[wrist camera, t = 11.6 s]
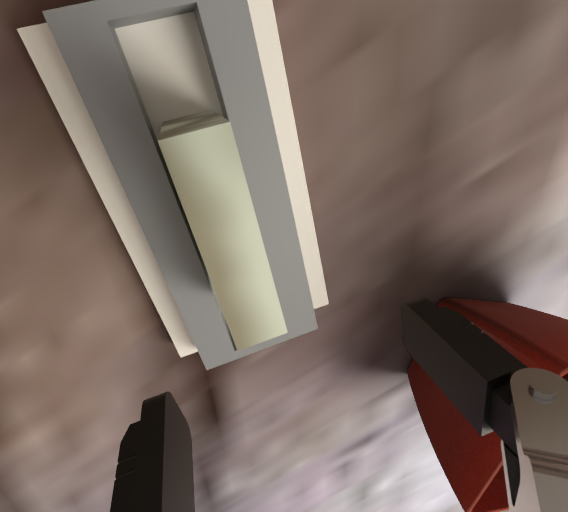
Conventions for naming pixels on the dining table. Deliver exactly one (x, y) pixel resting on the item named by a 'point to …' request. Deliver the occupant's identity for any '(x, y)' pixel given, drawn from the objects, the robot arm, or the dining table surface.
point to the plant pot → (455, 427)
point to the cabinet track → (150, 161)
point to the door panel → (223, 223)
